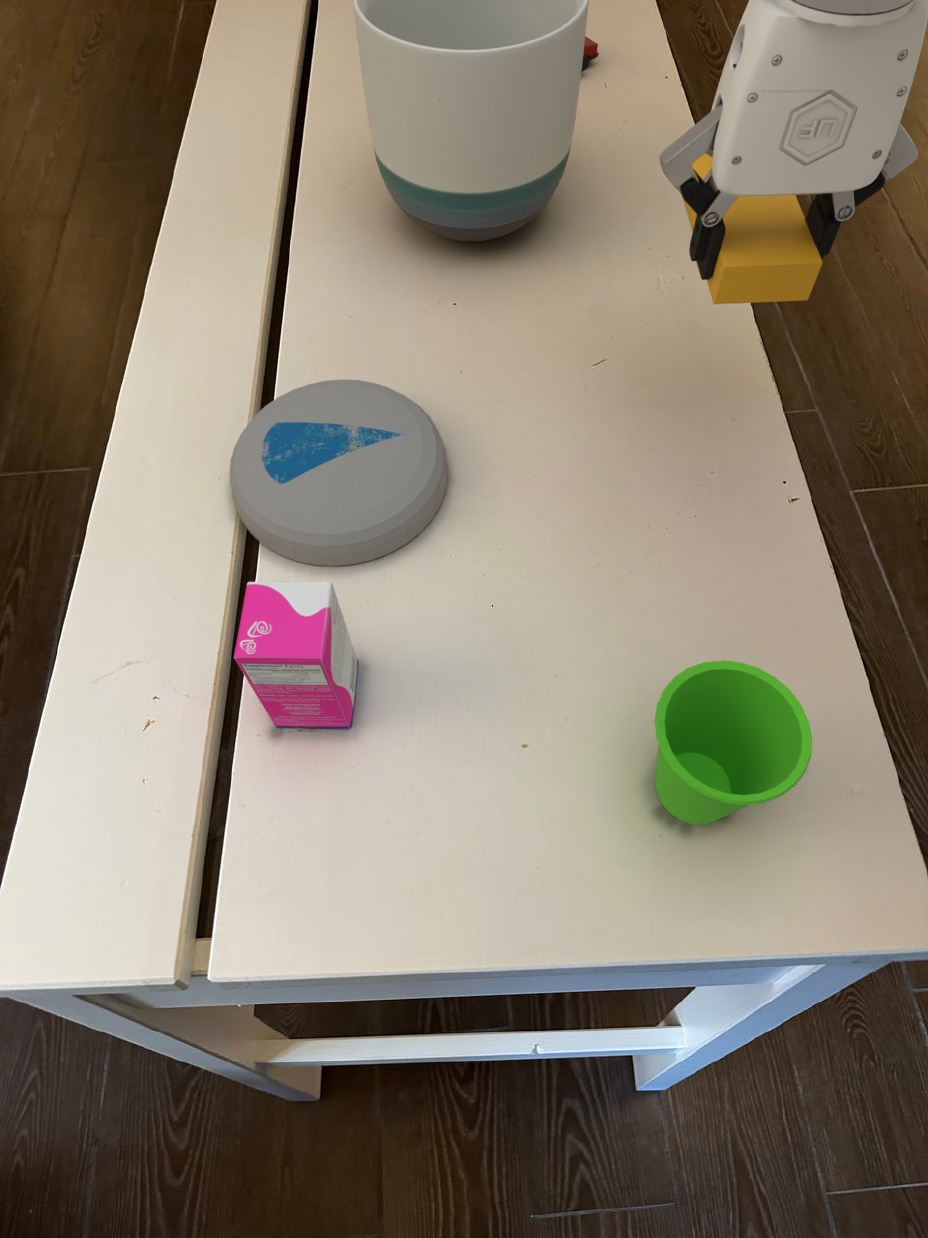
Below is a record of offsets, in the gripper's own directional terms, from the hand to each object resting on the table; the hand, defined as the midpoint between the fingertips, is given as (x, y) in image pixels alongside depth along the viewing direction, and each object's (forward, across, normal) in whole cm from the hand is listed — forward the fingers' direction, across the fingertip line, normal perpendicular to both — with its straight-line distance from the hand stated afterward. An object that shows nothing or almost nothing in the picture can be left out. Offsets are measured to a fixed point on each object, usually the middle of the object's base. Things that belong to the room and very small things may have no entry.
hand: (754, 262), depth 58 cm
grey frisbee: (+18, -31, -2) cm, 36 cm away
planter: (+18, -18, +33) cm, 42 cm away
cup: (+19, -6, -31) cm, 37 cm away
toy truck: (+18, -7, +62) cm, 65 cm away
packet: (+1, 0, +4) cm, 4 cm away
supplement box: (+19, -32, -23) cm, 44 cm away
